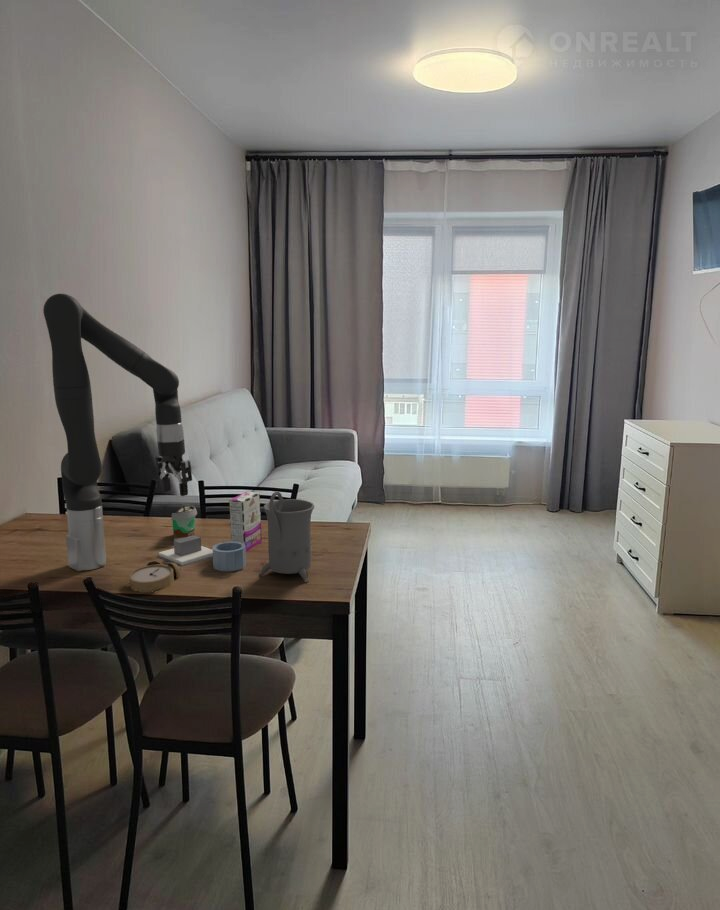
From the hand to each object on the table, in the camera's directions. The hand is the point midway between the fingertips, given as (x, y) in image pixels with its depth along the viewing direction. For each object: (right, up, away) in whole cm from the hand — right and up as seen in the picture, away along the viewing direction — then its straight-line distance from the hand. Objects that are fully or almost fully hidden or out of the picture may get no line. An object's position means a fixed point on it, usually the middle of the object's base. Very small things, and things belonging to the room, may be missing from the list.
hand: (175, 493), depth 198 cm
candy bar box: (+19, -18, +11) cm, 28 cm away
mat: (+3, -19, +2) cm, 19 cm away
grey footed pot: (+34, -22, -12) cm, 43 cm away
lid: (+3, -18, +2) cm, 19 cm away
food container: (-1, -16, +19) cm, 25 cm away
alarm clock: (0, -23, -17) cm, 29 cm away
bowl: (+17, -21, -6) cm, 27 cm away
